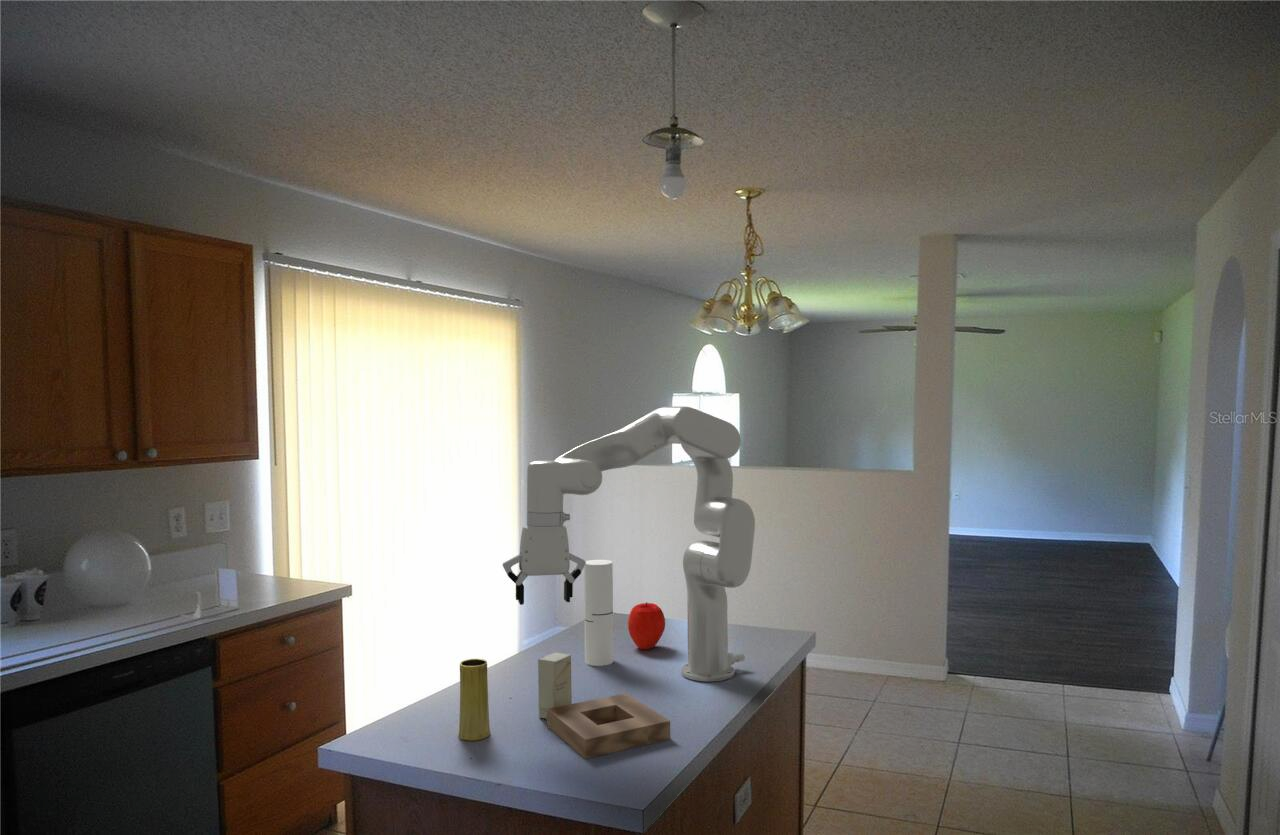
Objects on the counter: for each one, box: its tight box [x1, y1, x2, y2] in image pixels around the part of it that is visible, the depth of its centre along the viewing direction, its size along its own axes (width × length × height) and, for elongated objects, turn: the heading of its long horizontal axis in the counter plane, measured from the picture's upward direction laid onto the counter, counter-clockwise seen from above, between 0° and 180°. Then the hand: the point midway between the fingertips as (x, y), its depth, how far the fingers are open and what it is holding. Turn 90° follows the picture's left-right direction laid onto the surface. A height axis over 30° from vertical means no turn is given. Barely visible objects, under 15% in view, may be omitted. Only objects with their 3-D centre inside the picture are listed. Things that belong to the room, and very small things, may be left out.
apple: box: [627, 601, 666, 651], centre depth 222 cm, size 10×10×12 cm
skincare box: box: [537, 651, 573, 720], centre depth 175 cm, size 6×4×12 cm
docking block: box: [546, 693, 671, 760], centre depth 165 cm, size 18×18×4 cm
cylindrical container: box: [583, 559, 614, 667], centre depth 211 cm, size 7×7×25 cm
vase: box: [457, 658, 491, 742], centre depth 164 cm, size 6×6×14 cm
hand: (544, 602), depth 175 cm, fingers open, 9 cm apart
